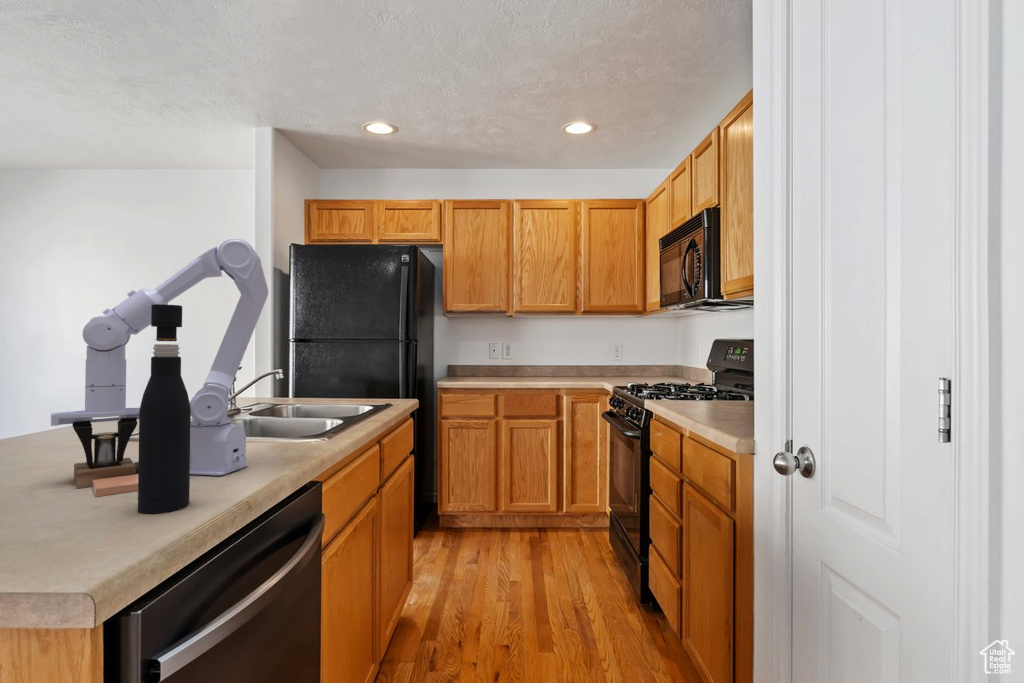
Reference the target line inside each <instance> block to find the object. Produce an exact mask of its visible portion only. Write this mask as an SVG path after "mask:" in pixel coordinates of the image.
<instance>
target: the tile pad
mask: <svg viewBox="0 0 1024 683" xmlns="http://www.w3.org/2000/svg"><path fill="white" fill-rule="evenodd" d="M91 488H92V490H93V493H94V496H95V497H102V496H103V497H104V496H110V495H111V496H112V495H116V494H125V493H130V492H138V474H135V475H128V476H120V477H112V478H104V479H97V480H92V487H91Z"/></svg>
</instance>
